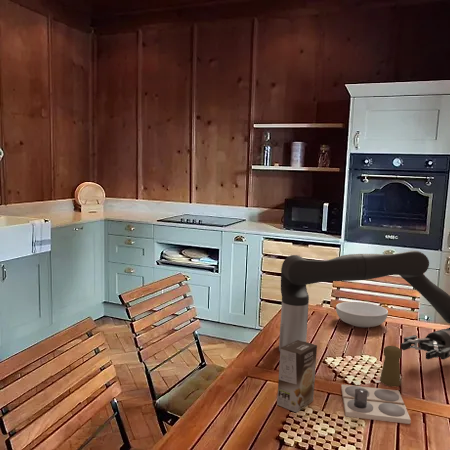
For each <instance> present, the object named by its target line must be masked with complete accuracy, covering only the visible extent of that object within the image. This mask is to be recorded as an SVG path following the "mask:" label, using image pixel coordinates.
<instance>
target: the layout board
mask: <svg viewBox="0 0 450 450" xmlns="http://www.w3.org/2000/svg"><path fill="white" fill-rule="evenodd" d="M340 387H341V394H342V402H343V408H344V415H345V417H349V418H357V419H363V420H364V419H365V420H375V421H382V422H391V423H399V424H406V425H411V422H412V421H411V420H412V419H411V416H410V415H409V412H408V410H407V407H406V404H405V401H404V400H403V396H402V395H401V393H400V390H396V389H390V388H389V389H388V388H387V389H386V388H379V387H369V386H361V385H360V386H359V385H353V384H351V385H350V384H342V383H341V386H340ZM358 388H361V389H365V390H366V391H367V392H368V394H367V407H366V408H363V409H362V408H357V407H355V406H354V398H355V389H358Z"/></svg>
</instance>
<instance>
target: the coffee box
mask: <svg viewBox="0 0 450 450" xmlns="http://www.w3.org/2000/svg"><path fill="white" fill-rule="evenodd" d="M317 350H318V345H317V344H314V343H310V342H308V341H306V342H303V341H300V340H297V341H294V342H292V343H290V344H288V345H286V346H283V347H281V348H280V351H279V366H278V367H279V368H278V380H277V381H278V382H277V383H278V384H277V397H276V400H277V401H276V406H278V407H282V408H284V409H286V410H289V411H291V412H294V413H298V412H299V411H301V410H302V409H304V408H305V407H307V406H308V405H309V404H311V403H312V402H314V398H315V397H314V395H315V381H316V368H317V367H316V366H317V365H316V364H317V352H318V351H317Z"/></svg>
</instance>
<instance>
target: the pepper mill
mask: <svg viewBox="0 0 450 450" xmlns="http://www.w3.org/2000/svg"><path fill="white" fill-rule="evenodd" d="M402 353H403V352H402V349H401V348H400V347H399V346H398V347H397V346H395V345H387V346H385V347H384V349H383V356H384V360H383V364H382V369H381V373H380V377H379V382H380V381H381V382H380V383H381V384H383V385H385V386H388V387H394V388H395V387H399V386H401V367H400V365H401V364H400V359H401V357H402Z"/></svg>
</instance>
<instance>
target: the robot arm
mask: <svg viewBox="0 0 450 450" xmlns="http://www.w3.org/2000/svg"><path fill="white" fill-rule="evenodd" d="M429 267H430V261H429V258H428V256H427V255H426V254H424V253H423V252H421V251H419V250H409V251H404V252H399V253H390V254H385V253H349V254H344V255H340V256H337V257H333V258H331V259H325V260H324V259H323V260H317V259H316V260H314V259H312V260H311V259H305V258H304V257H302V256H301V255H297V254H293V255H288V256H287V257H286V258H285V259H284V260H283V262H282V264H281V268H280V269H281V270H280V293H281V311H280V312H281V313H280V324H279V339H278V340H279V341H278V342H279V343H278V345H279V346H278V352H280V348H281V347H283V346H286V345H288V344H290V343H292V342H294V341H297V340H300V341H303V342H307V337H308V336H307V335H308V320H309V319H308V318H309V303H310V302H309V301H310V297H309V296H310V295H309V292H308V289H307V285H312V284H317V283H324V282H354V281H355V282H356V281H365V280H366V281H367V280H373V279H379V278H384V277H388V276H399V277H401V279H403V280H404V281H405V282H407V283H408V284H409V285H410V286H411V287H412V288H414V289H415V290H416V291H417V292H418V293H419V294H420V295H421V296H422V297H423V298H424V299H425V300H426V301H427V302H428V303H429V304H430V305H431V307H433V309H434V310H435V311H436V312H437V313H438V314H439V316H440V317H442V319H443V320H444V321H445V323H447V324H449V325H450V295H449V294H448V292H446V291H445V290H444V289H442V288H440V287H439V286H438V285H437V284H435V283H433V282H432V281H431V280H430V279H429V278H428V276H426V275H425V273H427V271H428V269H429ZM400 345H401V346H400V347H401V348H400V349H401V351H407V350H409V349H414V350H416V351H425V360H431V359H438V358H440V360H446V359H449V358H450V327H447V328H441V329H438V330H436V331H432V332H429V333H428V334H427V335H426V336H425V337H423V338H418V336H417V335H416V334H415V335H410V336H405V337H404V338H403V342H402V343H400Z"/></svg>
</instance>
